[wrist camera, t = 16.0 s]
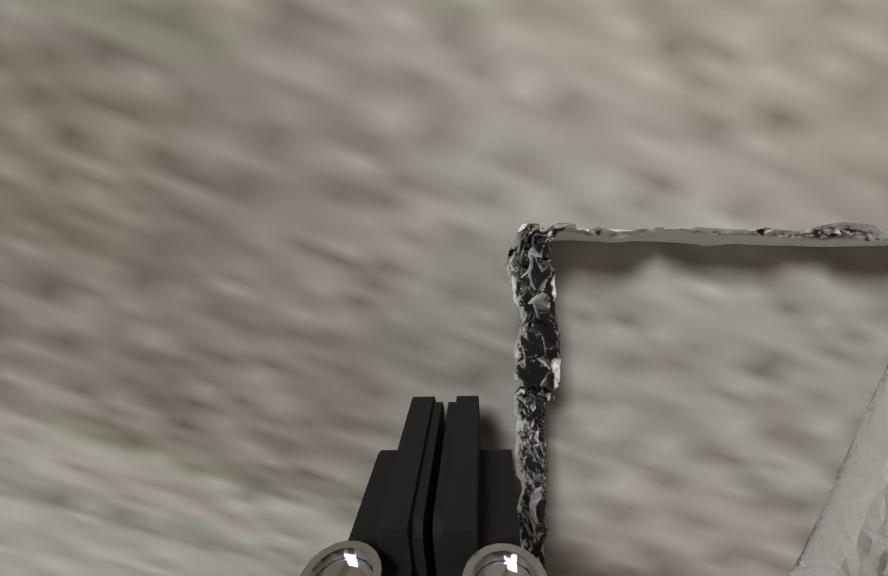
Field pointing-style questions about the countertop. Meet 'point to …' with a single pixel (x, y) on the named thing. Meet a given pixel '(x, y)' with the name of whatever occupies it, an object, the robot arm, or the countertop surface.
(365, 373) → the countertop surface
